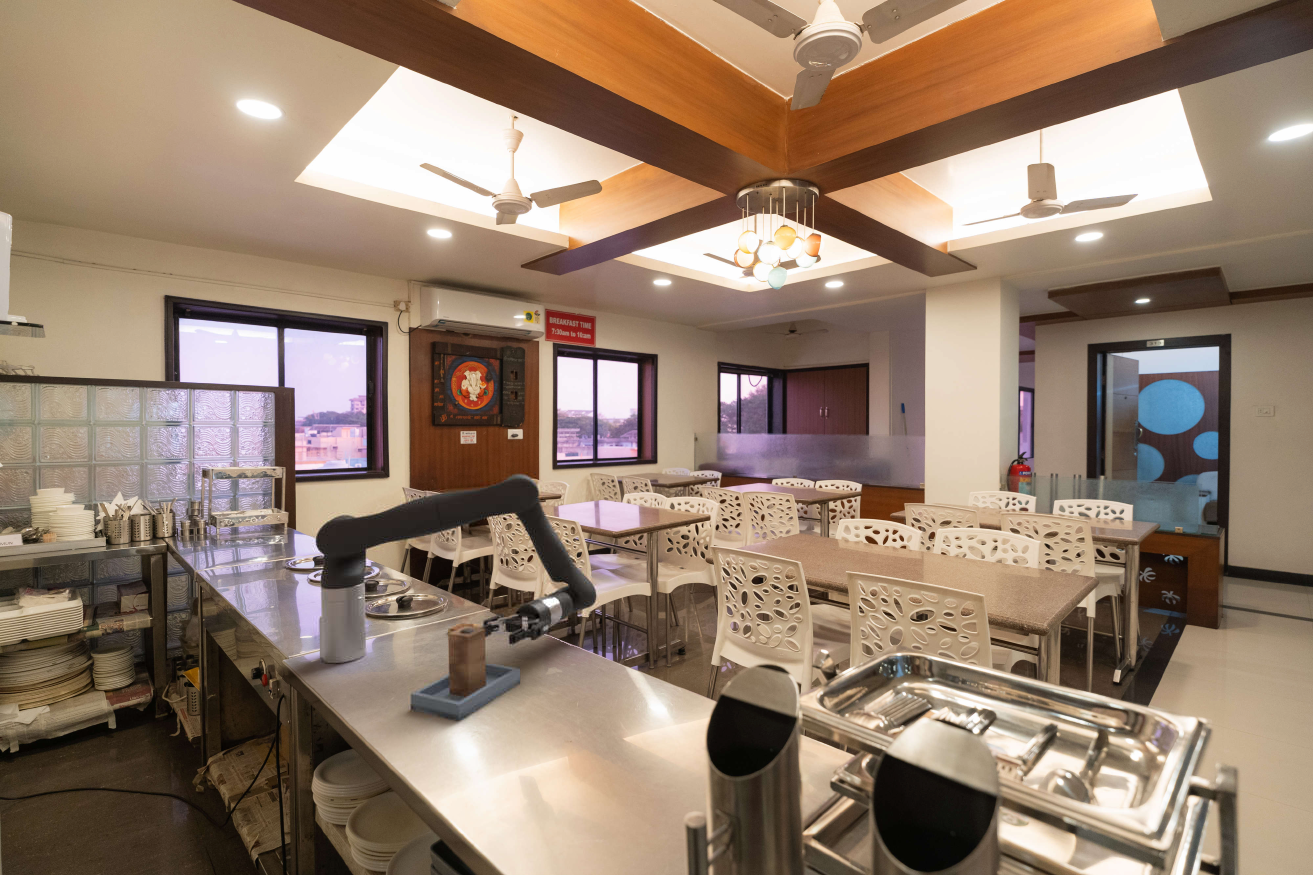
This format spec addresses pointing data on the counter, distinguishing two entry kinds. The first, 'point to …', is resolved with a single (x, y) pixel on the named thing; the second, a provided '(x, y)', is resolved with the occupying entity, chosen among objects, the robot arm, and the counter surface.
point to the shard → (462, 626)
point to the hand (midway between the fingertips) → (494, 637)
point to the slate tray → (459, 707)
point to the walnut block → (467, 661)
